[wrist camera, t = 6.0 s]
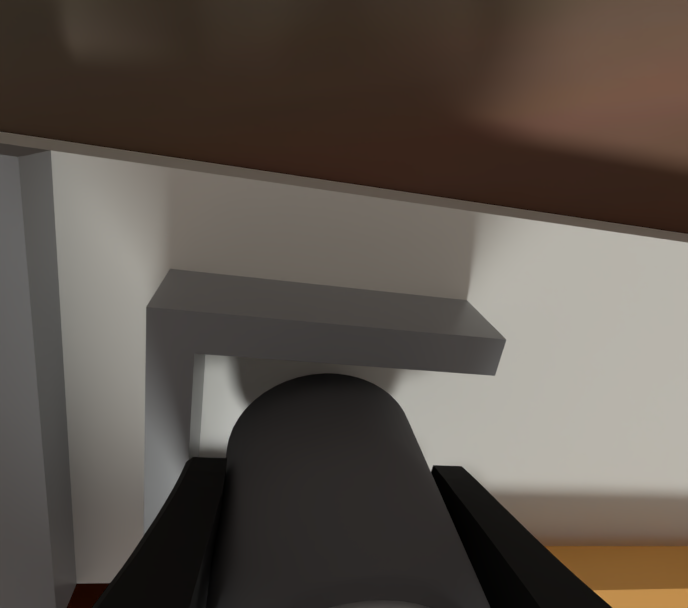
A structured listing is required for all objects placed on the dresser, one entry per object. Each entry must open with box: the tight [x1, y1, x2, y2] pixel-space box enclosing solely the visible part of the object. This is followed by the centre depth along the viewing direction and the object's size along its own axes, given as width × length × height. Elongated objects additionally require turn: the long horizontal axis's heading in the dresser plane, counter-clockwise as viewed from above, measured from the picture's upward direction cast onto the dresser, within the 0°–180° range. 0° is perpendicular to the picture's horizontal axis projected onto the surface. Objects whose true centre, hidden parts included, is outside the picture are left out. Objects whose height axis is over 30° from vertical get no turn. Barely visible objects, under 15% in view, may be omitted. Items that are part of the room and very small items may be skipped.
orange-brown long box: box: [544, 546, 688, 608], centre depth 14 cm, size 2×11×2 cm, turn 81°
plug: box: [206, 373, 490, 608], centre depth 8 cm, size 4×4×5 cm
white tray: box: [0, 132, 688, 608], centre depth 12 cm, size 11×22×4 cm, turn 81°
